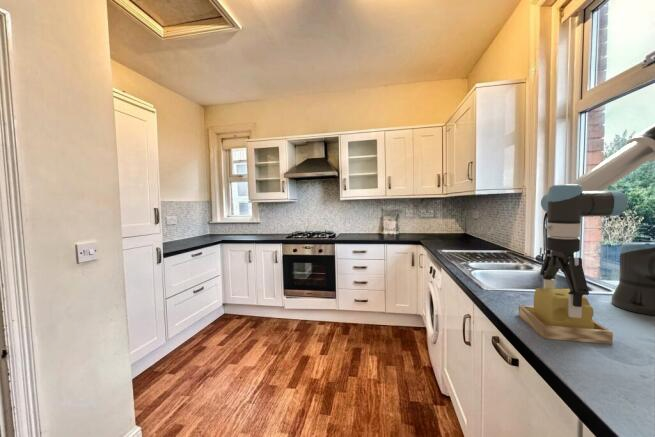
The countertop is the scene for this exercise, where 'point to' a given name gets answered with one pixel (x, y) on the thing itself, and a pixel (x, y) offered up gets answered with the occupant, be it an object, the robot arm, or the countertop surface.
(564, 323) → the cheese
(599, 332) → the wooden tray
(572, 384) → the countertop surface
